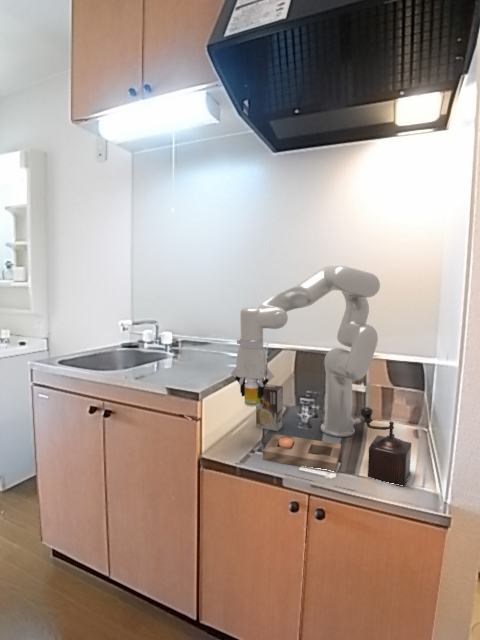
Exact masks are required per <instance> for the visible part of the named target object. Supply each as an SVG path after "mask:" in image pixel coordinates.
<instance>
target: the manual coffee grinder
mask: <svg viewBox="0 0 480 640" xmlns="http://www.w3.org/2000/svg"><path fill="white" fill-rule="evenodd" d="M373 413H374V411H373V408H371V407H369V406H365V407H362V408H361V409H360V416H361V417H362V418H363V423H364V424H365V423H366V427H367V428H368V429H372V430H380V431H386V430H389V434H388V436H383V435H379V434H377V435H376V437H375V438H374V439H373V441H372V442H371V443H370V445H369V447H368V462H367V463H368V465H367V467H368V469H367V477H368V478H370V477H371V479H372V478H374V479H373V480H376V479H378V480H377V481H379V480H381V481H380V482H383V481H385V482H384V483H386V482H389V483H388V484H390V483H394V484H399V485H403V486H404V485H405V486H406V484H407V483H408V480H409V478H408V477H410V475H411V456H412V442H409V441H405V440H402V439H400V438H397V437H395V434H394V433H393V431H394V429H395V426H394V425H395V424H394V422H393V421H392V420H390V421H389V423H388V424H389V425H388V426H377V425H376V426H375V425H371V423H372V422H373V421H374V420H373V418H372V415H373ZM407 479H408V480H407ZM394 484H393V485H394ZM405 486H404V487H405Z"/></svg>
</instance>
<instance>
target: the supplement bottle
mask: <svg viewBox="0 0 480 640" xmlns="http://www.w3.org/2000/svg"><path fill="white" fill-rule="evenodd" d="M259 386H260V384H259V381H258V379H250V378H246V380H245V396H244V405H245V406H247V407H251V408H252V407H256V406H259V405H260V398H259Z"/></svg>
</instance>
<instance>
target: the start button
mask: <svg viewBox="0 0 480 640" xmlns="http://www.w3.org/2000/svg"><path fill="white" fill-rule="evenodd" d="M292 444H293V440H292V439H290V438H280V439H279V447H282V448H288V449H292Z"/></svg>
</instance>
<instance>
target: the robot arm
mask: <svg viewBox="0 0 480 640" xmlns="http://www.w3.org/2000/svg"><path fill="white" fill-rule="evenodd" d="M380 288H381V283H380V279H379V278H378V277H377V276H376V275H375V274H374V273H372V272H368V271H365V270H361V269H357V268H352V267H349V266H345V265H329V266H324V267H323V268H321V269H319V270H318V271H316V272H314V273H313V274H312V275H310V276H309V277H307V278H306V279H304V280H303V281H301V282H300V283H298V284H297V285H295V286H292V287H290V288H288V289H286V290H284V291H282V292H279V293H277V294H275V295H273V296H272V297H270V298H269V299H267V300H266V301H264V302H263V303H261V304H259V306H258V307H255V306H254V307H253V306H251V307H247V306H246V307H243V308H242V309H241V310H240V317H239V318H240V339H237V340H236V344H237V345H240V347H238V348H237V349H238V350H237V355H236V365H235V366H236V367H235V368H234V369H233V370H232V372H231V373H230V374H231V376H232V377H233V378H235V380H236V381H237V382H238V384H239V386H240V387H239V388H240V390H239V391H240V394H241V397H245V383H246V381H247V380H246V378H250V379H258V381H257V382H259V384H260V386H259V398H262V397H263V395H264V385H265V384H268V383H269V382H270V381H271V380H272V379H273V378H274V377H275V375H274V374H273V373H272V371H271V370H270V368H268V356H267V352H266V348H265V347H264V329H270V330H271V329H272V330H278V329H281V328H284V327H285V326H286V325H287V323H288V318H289V316H288V313H287V312H290V311H292V310H297V309H302V308H307V307H309V306H312V305H314V304H315V303H316V302H318V301H319V300H320V299H322V298H323V297H325V296H326V295H328V294H329V293H331V292H332V291H339V292H341V293H342V295H343V297H344V300H345V309H344V313H343V315H342V319H341V321H340V325H339V328H338V331H337V336H336V339H337V341H338V342H339V344H340V345H342V346H345V347H347V348H350V350H348V349H344V348H336V347H335V348H332V349H330V350H329V351H327V353H326V355H325V357H324V370H325V377H326V378H325V382H326V383H325V384H326V385H325V386H326V388H325V411H324V412H325V413H324V414H325V415H324V422H323V423H321V425H320V431H321V432H323V433H324V434H326V435H327V436H328V435H329V436H330V437H331V436H332V437H337V438H338V437H339V438H344V437H345V438H347V437H350V436H353V435H354V434H355V431H356V428H355V427H354V426H355V425H358V424H360V423H362V421H361V418H360V417H357V418H354V417H352V402H353V401H352V400H353V381H359V380H362V379H363V378H364V377H365V376H366V375H367V373H368V372H369V371H368V370H369V369H370V366H371V363H372V361H373V358H374V354H375V352H376V348H377V346H378V340H379V338H378V332H377V330H376V329H375V327H374V326H372V325H370V324H367V320H368V316H369V315H370V314H369V312H370V306H369V301H368V299H367V298H372V297H374V296H376V295H377V293H378V292H379V291H380ZM266 376H267V377H266ZM265 377H266V378H265Z"/></svg>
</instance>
